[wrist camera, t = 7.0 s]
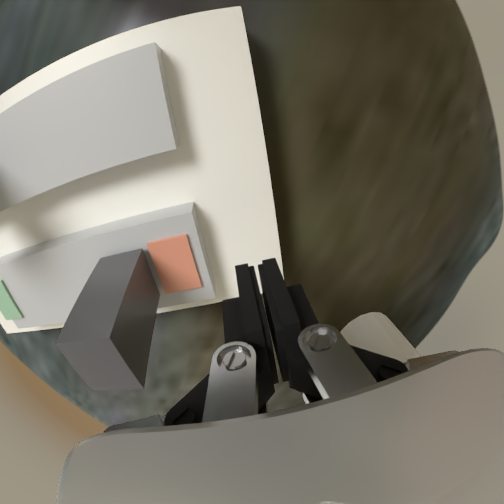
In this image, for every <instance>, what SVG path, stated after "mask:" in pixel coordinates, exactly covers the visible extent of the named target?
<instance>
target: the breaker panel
mask: <svg viewBox="0 0 504 504" xmlns="http://www.w3.org/2000/svg"><path fill="white" fill-rule="evenodd" d="M141 248H142V249H143V251H144V254H145V257H146V259H147V262H148V265H149V267H150V270H151V273H152V275H153V278H154V280H155V283H156V285H157V288H158V290H159V293H160V298H159V303H158V308H157V313H162V312H168V311H174V310H180V309H185V308H191V307H196V306H202V305H207V304H212V303H217V302H222V300H225V299H231V298H236V297H239V292H238V285H237V278H236V271H235V266H236V265H241V264H246V263H248V267H249V266H254V269H255V273H256V277H257V281H258V285H259V289H260V293H261V294H262V293H263V292H262V287H261V281H260V276H259V270H258V265H259V264H262V260H266V259H271V258H275V259H276V261H277V264H278V266H279V269H280V271H281V274H282V276H283V279H284V275H283V267H282V259H281V251H280V243H279V236H278V228H277V221H276V213H275V206H274V199H273V192H272V185H271V178H270V172H269V165H268V158H267V152H266V145H265V139H264V132H263V126H262V120H261V114H260V108H259V102H258V96H257V90H256V84H255V78H254V73H253V67H252V62H251V56H250V51H249V45H248V40H247V35H246V29H245V24H244V19H243V14H242V9H241V6H236V7H228V8H221V9H215V10H209V11H203V12H198V13H193V14H188V15H183V16H179V17H175V18H171V19H167V20H163V21H159V22H155V23H152V24H148V25H145V26H142V27H139V28H135V29H132V30H129V31H126V32H123V33H121V34H118V35H115V36H112V37H110V38H107V39H105V40H102V41H100V42H97V43H95V44H92V45H90V46H88V47H85V48H83V49H81V50H79V51H77V52H74V53H72V54H70V55H68V56H66V57H64V58H62V59H60V60H58V61H56V62H54V63H52V64H50V65H49V66H47V67H45V68H43V69H41V70H40V71H38V72H36V73H34V74H33V75H31V76H29V77H28V78H26V79H24V80H23V81H21V82H20V83H18V84H17V85H15V86H13V87H12V88H10V89H9V90H7V91H6V92H5V93H3V94H2V95H0V323H1V325H2V326H3V328H4V329H5V331H6V332H7V333H17V332H27V331H36V330H45V329H53V328H61V327H63V326H64V324H65V322H66V320H67V318H68V316H69V314H70V312H71V310H72V308H73V306H74V304H75V302H76V300H77V298H78V296H79V295H80V293H81V291H82V289H83V287H84V285H85V284H86V282H87V280H88V278H89V277H90V275H91V273H92V271H93V270H94V268H95V266H96V264H97V263H98V261H99V259H100V258H102V257H106V256H111V255H115V254H119V253H123V252H128V251H132V250H136V249H141Z"/></svg>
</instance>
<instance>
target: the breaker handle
mask: <svg viewBox="0 0 504 504" xmlns="http://www.w3.org/2000/svg"><path fill="white" fill-rule="evenodd" d="M159 298H160V293H159V290H158V288H157V285H156V283H155V280H154V278H153V275H152V273H151V270H150V267H149V265H148V262H147V259H146V257H145V254H144V251H143V249H142V248H141V249H136V250H132V251H128V252H123V253H119V254H115V255H111V256H106V257H102V258H100V259H99V261H98V263H97V264H96V266H95V268H94V270H93V271H92V273H91V275H90V277H89V278H88V280H87V282H86V284H85V285H84V287H83V289H82V291H81V293H80V295H79V296H78V298H77V300H76V302H75V304H74V306H73V308H72V310H71V312H70V314H69V316H68V318H67V320H66V322H65V324H64V326H63V328H62V330H61V332H60V334H59V336H58V339H57V341H56V343H55V344H56V345H57V347H58V348H59V349H60V351H61V352H62V353H63V355H64V356H65V357H66V359H67V360H68V361H69V363H70V364H71V365H72V367H73V368H74V369H75V370H76V372H77V373H78V374H79V375H80V377H81V378H82V379H83V380H84V381H85V383H86V384H87V385H88V386H89V387H90V388H91V390H92V391H113V390H133V389H144V384H145V377H146V371H147V364H148V358H149V352H150V346H151V340H152V334H153V329H154V324H155V318H156V313H157V308H158V303H159Z"/></svg>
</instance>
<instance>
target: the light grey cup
mask: <svg viewBox="0 0 504 504" xmlns="http://www.w3.org/2000/svg"><path fill="white" fill-rule="evenodd" d="M340 333H341V334H342V336H343V337H344V338H345V340H346V341H347V342H348V344H349V345H352V346H355V347H358V348H361V349H365V350H368V351H371V352H374V353H377V354H381V355H384V356H387V357H390V358H394V359H397V360H399V361H401V362H402V363H405V362H407V360H408V359H412V358H417V357H421V356H420V355H419V353H418V352H417V351H416V350H415V349H414V347H413V346H412V345H411V344H410V343H409V341H408V340H407V339H406V338H405V337H404V336H403V334H402V333H401V332H400V331H399V330H398V329H397V328H396V326H395V325H394V324H393V323H392V322H391V321H390V319H389V318H388V317H387V316H385V315H384V314H382V313H381V312H370V313H367V314H363V315H360V316H359V317H357V318H355V319H354V320H352V321H350V322H349V323H348V324H347V325H346V326H345V327H344V328H343V329H342V330H341V332H340Z"/></svg>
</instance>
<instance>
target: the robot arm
mask: <svg viewBox="0 0 504 504" xmlns="http://www.w3.org/2000/svg"><path fill="white" fill-rule="evenodd" d="M258 270H259V276H260V281H261V287H262V292H263V298H264V304H265V309H266V313H265V309H264V305H263V301H262V297H261V293H260V289H259V285H258V281H257V277H256V273H255V269H254V266H249V267H248V263H246V264H241V265H236V266H235V271H236V278H237V285H238V292H239V297H236V298H231V299H225V300H222V306H223V321H224V335H225V345H222V346H221V347H220V348H218V349H217V350H216V352H215V353H214V355H213V358H212V363H211V369H210V373H209V374H208V375H207V376H206V377H205V378H204V379H203V380H202V381H201V382H200V383H199V384H198V385H197V386H195V387H194V388H193V389H192V390H191V391H190V392H189V393H188V394H187V395H186V396H185V397H183V398H182V399H181V400H180V401H179V402H178V403H177V404H176V405H175V406H174V407H172V408H171V409H170V410H169V412H168V413H167V414H166V415H165V416H162V417H160V415H159V414H158V415H154V416H151V417H147V418H143V419H139V420H135V421H130V422H126V423H122V424H117V425H113V426H111V427H108V428H107V429H106V430H105V431H104V432H103V433H101V434H97V435H95V436H92V437H89V438H87V439H84V440H82V441H81V442H79V443H78V444H76V445H75V446H74V447H73V448H72V450H71V451H70V453H69V454H68V456H67V458H66V461H65V463H64V467H63V469H62V473H61V477H60V481H59V487H58V492H57V498H56V504H504V353H503V352H501V351H499V350H496V349H489V348H480V349H470V350H466V351H461V352H458V351H448V352H443V353H438V354H433V355H428V356H423V357H417V358H412V359H408V360H407V362H405V363H402V362H401V361H399V360H397V359H394V358H390V357H387V356H384V355H381V354H377V353H374V352H371V351H368V350H365V349H361V348H358V347H355V346H352V345H349V344H348V342H347V341H346V340H345V338H344V337H343V336H342V334H341V333H340V332H339V331H338V330H337V329H336V328H335V327H333V326H331V325H328V324H319V323H318V321H317V319H316V317H315V314H314V312H313V310H312V308H311V306H310V303H309V301H308V299H307V297H306V295H305V292H304V290H303V288H302V286H301V285H300V284H298V285H293V286H289V287H286V284H285V282H284V279H283V276H282V274H281V271H280V269H279V266H278V264H277V261H276V259H275V258H271V259H266V260H262V264H259V265H258ZM266 315H267V317H266ZM267 320H268V321H267ZM268 324H269V326H268ZM269 328H270V330H269ZM270 332H271V336H272V340H273V344H274V348H275V352H276V356H277V360H278V364H279V368H280V372H281V375H282V379H283V382H285V381H289V385H290V388H293V389H295V390H297V391H300V392H302V396H303V399H304V401H305V403H306V404H305V405H300V406H296V407H292V408H287V409H283V410H278V411H273V412H268V402H267V401H268V400H269V399H270V397H271V396H272V395H273V394H274V393H275V389H274V384H276V383H279V381H278V376H277V370H276V364H275V358H274V353H273V347H272V341H271V336H270Z"/></svg>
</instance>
